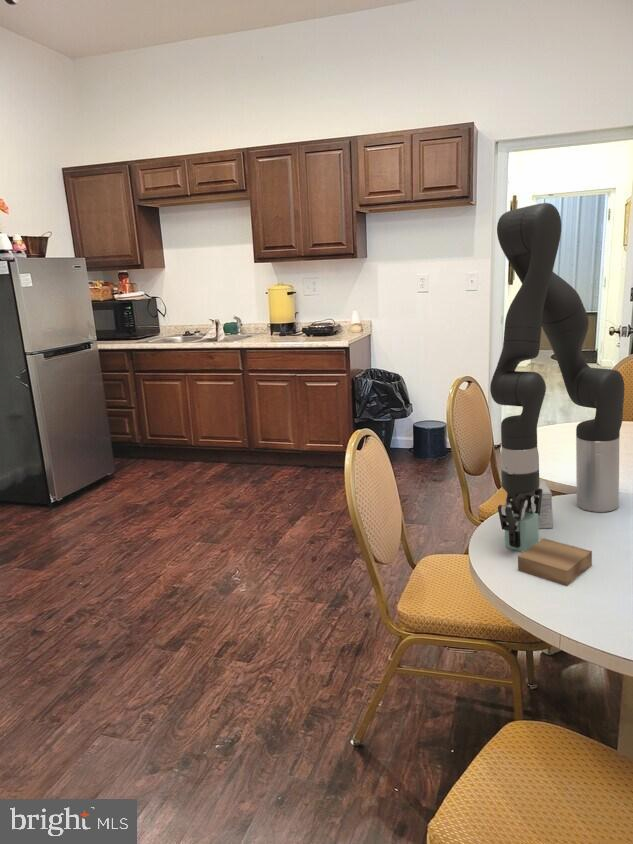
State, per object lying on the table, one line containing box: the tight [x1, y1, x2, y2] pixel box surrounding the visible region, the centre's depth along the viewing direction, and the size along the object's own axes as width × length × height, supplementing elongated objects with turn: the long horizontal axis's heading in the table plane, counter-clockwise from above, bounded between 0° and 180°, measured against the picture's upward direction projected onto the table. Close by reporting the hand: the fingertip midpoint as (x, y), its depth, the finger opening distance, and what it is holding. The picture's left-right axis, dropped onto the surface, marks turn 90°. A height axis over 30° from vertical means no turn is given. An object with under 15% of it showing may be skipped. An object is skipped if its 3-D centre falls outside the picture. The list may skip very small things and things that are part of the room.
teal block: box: [504, 512, 540, 553], centre depth 130 cm, size 5×5×7 cm
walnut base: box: [517, 538, 593, 587], centre depth 119 cm, size 10×10×3 cm
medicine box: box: [535, 480, 554, 530], centre depth 140 cm, size 8×4×9 cm, turn 168°
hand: (521, 541), depth 130 cm, fingers closed on teal block, 5 cm apart
